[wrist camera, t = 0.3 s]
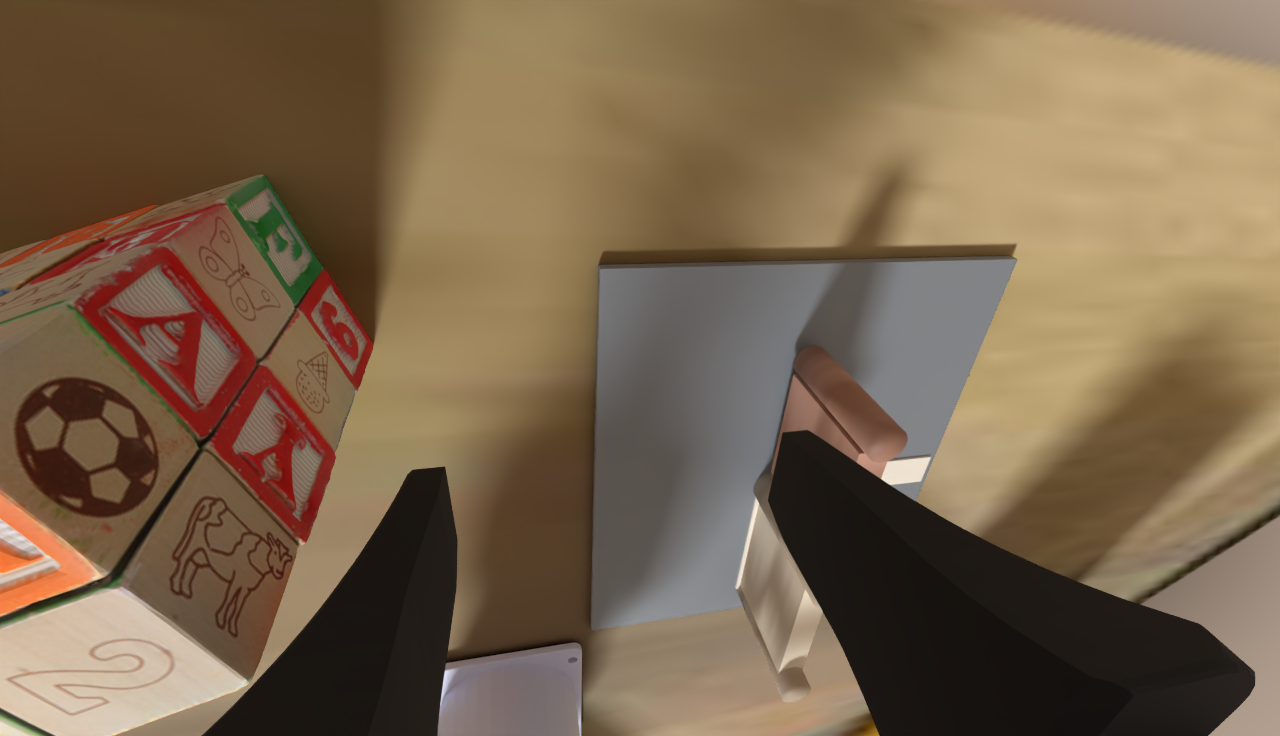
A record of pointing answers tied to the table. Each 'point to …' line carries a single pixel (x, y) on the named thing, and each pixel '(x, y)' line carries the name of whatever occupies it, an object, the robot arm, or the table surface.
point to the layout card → (752, 401)
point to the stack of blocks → (160, 453)
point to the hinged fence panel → (839, 412)
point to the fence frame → (778, 600)
